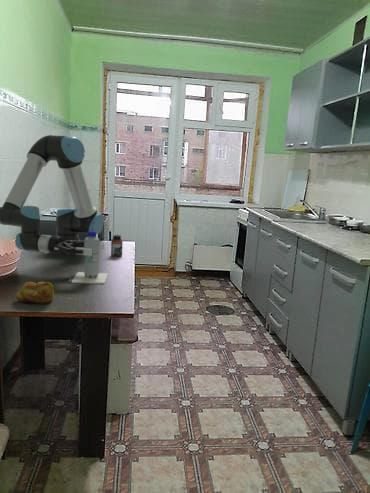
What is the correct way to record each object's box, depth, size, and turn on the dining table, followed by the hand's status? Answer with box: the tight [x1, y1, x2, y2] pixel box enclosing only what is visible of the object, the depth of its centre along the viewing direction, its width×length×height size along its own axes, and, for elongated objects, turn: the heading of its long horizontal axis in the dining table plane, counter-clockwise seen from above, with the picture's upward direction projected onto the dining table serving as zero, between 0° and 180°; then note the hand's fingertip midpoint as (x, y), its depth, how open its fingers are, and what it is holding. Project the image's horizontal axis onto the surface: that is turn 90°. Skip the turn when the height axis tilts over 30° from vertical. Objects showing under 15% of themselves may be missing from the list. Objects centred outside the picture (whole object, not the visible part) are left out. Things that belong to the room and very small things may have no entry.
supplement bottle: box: [110, 234, 123, 258], centre depth 208 cm, size 6×6×11 cm
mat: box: [67, 271, 109, 285], centre depth 166 cm, size 14×15×1 cm
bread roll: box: [15, 281, 55, 305], centre depth 137 cm, size 13×10×8 cm
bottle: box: [83, 231, 101, 278], centre depth 165 cm, size 7×7×20 cm
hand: (97, 249), depth 165 cm, fingers open, 13 cm apart
